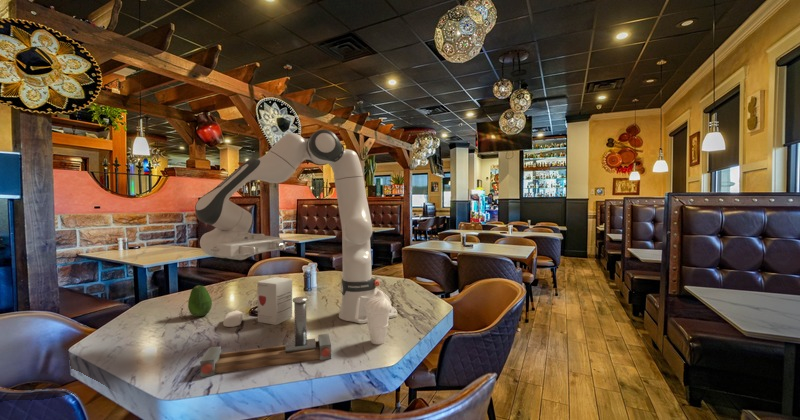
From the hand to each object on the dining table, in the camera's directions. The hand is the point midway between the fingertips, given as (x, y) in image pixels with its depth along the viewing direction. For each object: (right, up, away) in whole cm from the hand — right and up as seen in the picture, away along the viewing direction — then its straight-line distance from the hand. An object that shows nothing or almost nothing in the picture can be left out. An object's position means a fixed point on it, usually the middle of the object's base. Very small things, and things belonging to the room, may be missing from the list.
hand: (269, 248), depth 98 cm
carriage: (+11, -28, -5) cm, 31 cm away
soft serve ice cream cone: (+32, -30, +5) cm, 44 cm away
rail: (+3, -30, -7) cm, 31 cm away
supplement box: (-8, -30, +25) cm, 39 cm away
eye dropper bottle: (-20, -28, +17) cm, 39 cm away
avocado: (-38, -30, +29) cm, 56 cm away
